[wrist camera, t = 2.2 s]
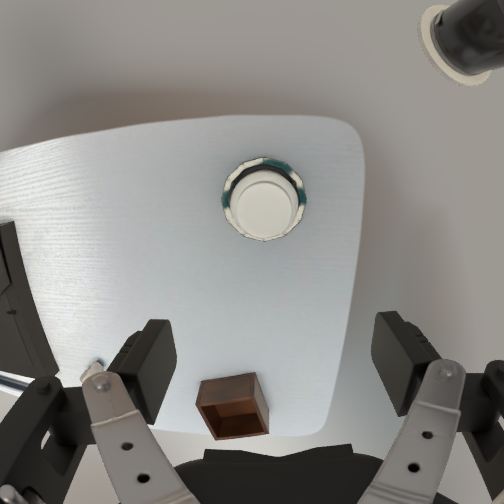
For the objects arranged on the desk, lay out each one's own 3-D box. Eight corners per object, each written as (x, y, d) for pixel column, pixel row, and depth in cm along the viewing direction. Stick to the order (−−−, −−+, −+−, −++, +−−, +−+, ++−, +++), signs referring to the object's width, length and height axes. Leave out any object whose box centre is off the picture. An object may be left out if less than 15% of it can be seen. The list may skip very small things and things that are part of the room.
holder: (255, 372, 38) (254, 395, 33) (268, 410, 40) (269, 433, 35) (201, 381, 38) (195, 404, 34) (219, 417, 40) (215, 440, 36)
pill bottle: (282, 161, 30) (291, 163, 21) (297, 213, 32) (312, 237, 22) (229, 177, 31) (215, 186, 22) (246, 228, 32) (239, 257, 23)
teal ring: (290, 150, 30) (293, 149, 27) (308, 221, 32) (313, 229, 29) (217, 169, 31) (212, 171, 27) (238, 239, 33) (235, 249, 29)
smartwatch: (97, 354, 38) (85, 371, 34) (109, 364, 38) (98, 382, 35) (87, 367, 39) (75, 383, 35) (99, 376, 39) (87, 393, 36)
